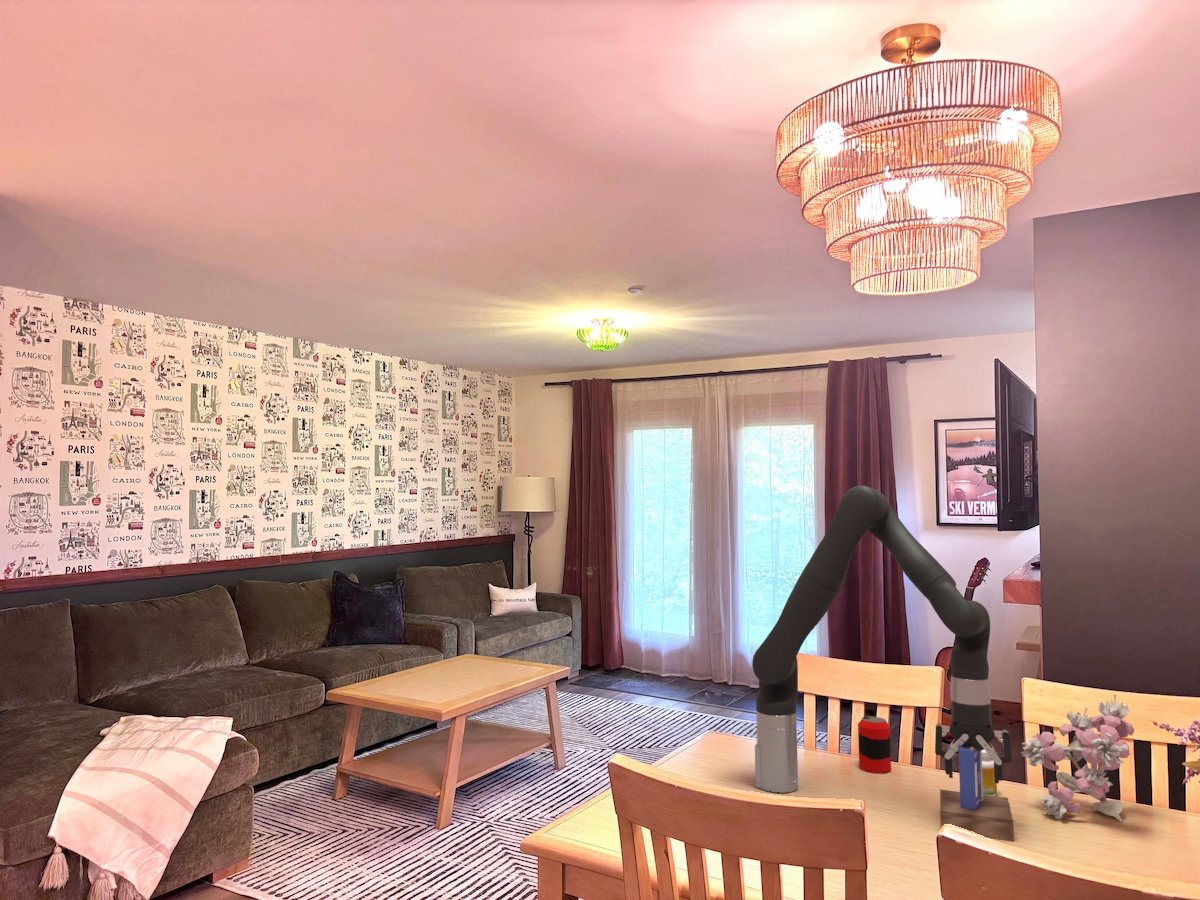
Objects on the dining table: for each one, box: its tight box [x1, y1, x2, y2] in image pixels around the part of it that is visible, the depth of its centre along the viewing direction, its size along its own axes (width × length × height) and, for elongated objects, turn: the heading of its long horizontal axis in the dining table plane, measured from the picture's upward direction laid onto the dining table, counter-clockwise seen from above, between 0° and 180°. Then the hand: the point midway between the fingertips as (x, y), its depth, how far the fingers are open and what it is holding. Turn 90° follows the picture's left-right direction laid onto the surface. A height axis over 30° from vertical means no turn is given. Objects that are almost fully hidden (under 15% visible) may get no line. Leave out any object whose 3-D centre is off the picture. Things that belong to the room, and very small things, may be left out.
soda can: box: [857, 716, 892, 774], centre depth 198 cm, size 8×8×12 cm
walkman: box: [958, 746, 983, 810], centre depth 164 cm, size 8×3×12 cm, turn 142°
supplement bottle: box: [982, 749, 998, 796], centre depth 180 cm, size 5×5×10 cm
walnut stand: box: [939, 789, 1015, 842], centre depth 163 cm, size 13×13×4 cm
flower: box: [1020, 694, 1135, 822], centre depth 169 cm, size 20×22×25 cm
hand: (973, 779), depth 163 cm, fingers open, 8 cm apart
